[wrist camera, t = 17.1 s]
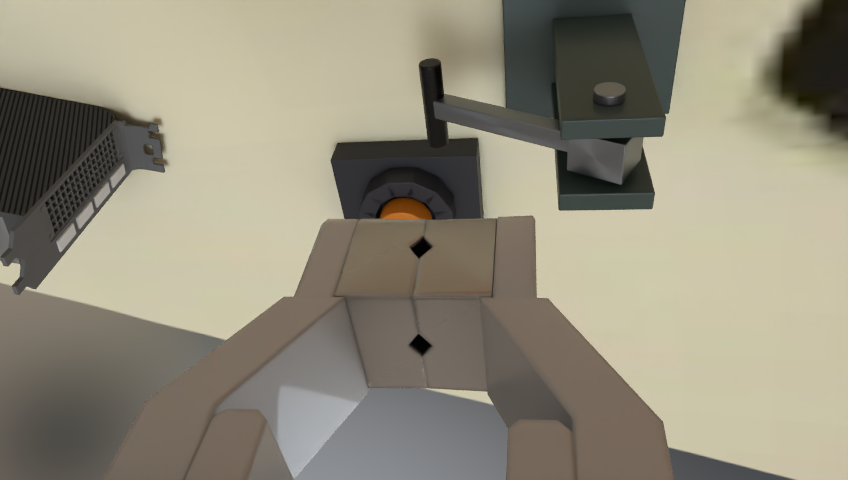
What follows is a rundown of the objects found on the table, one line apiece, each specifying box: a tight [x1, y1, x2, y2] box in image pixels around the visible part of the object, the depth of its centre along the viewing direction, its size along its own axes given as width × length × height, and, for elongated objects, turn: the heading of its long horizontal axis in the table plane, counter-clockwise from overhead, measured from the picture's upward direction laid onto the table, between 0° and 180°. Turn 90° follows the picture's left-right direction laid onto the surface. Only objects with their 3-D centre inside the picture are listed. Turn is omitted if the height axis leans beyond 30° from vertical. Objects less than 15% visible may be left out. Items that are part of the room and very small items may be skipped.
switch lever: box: [419, 58, 643, 185], centre depth 33 cm, size 12×5×2 cm, turn 97°
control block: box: [331, 139, 483, 220], centre depth 46 cm, size 10×8×4 cm
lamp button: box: [380, 197, 432, 220], centre depth 44 cm, size 4×4×2 cm
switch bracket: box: [503, 0, 686, 211], centre depth 34 cm, size 10×8×13 cm
